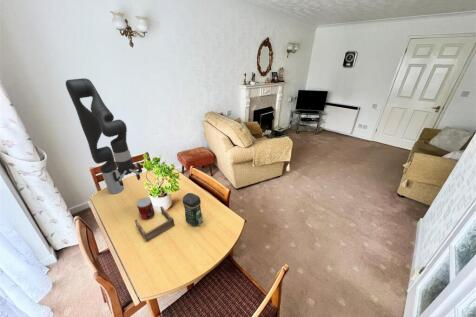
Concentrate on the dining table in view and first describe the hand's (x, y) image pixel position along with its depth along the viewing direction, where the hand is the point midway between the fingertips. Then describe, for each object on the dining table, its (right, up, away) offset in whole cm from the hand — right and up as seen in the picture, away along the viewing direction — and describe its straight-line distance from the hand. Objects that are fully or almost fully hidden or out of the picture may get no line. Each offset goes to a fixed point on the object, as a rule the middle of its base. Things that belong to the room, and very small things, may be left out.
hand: (130, 182), depth 111 cm
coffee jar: (+35, -23, +4) cm, 43 cm away
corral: (+14, -25, +1) cm, 29 cm away
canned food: (+6, -21, +8) cm, 24 cm away
